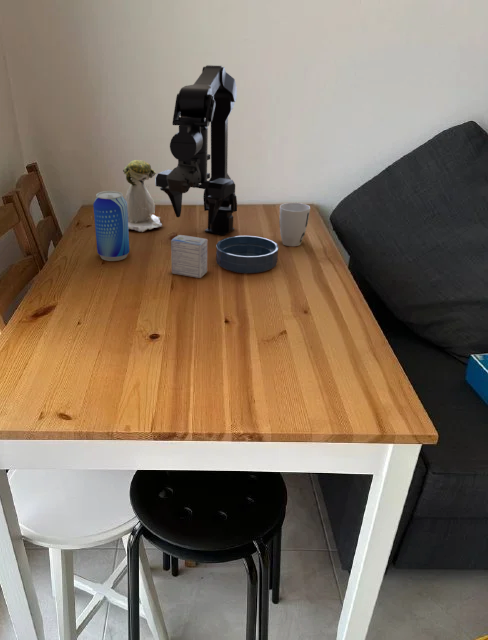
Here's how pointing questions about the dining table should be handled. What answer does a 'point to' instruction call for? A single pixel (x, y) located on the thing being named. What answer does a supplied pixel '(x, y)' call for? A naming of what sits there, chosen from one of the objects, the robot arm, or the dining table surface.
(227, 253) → the bowl
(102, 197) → the beer can
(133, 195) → the white figurine
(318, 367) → the dining table surface
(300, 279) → the dining table surface
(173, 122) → the robot arm
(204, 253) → the medicine box
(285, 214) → the cup
